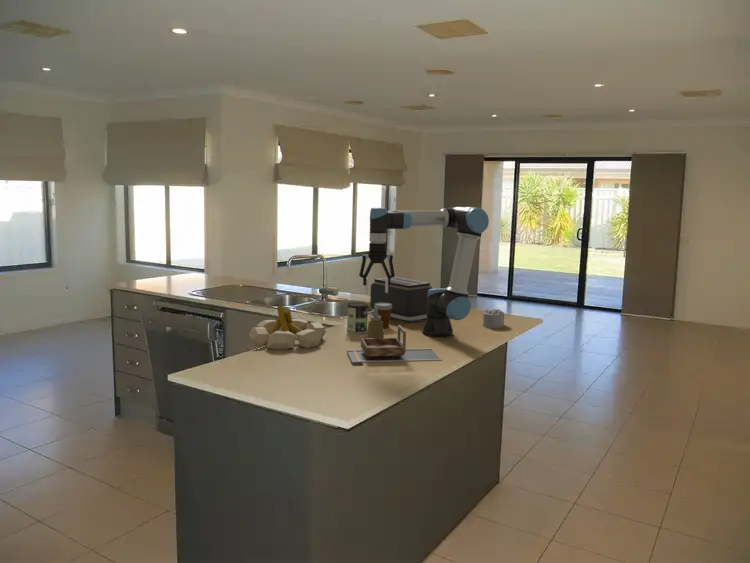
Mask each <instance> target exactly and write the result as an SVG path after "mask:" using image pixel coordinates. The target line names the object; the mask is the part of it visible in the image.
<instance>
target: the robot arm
mask: <svg viewBox="0 0 750 563" xmlns="http://www.w3.org/2000/svg"><path fill="white" fill-rule="evenodd" d="M369 211H370V212H369V245H368V247H369V248H368V253H367V254H362V255H361V258H362V261H361V263H360V264H361V265H360V270H359V274H358V275H359V277H360V278H362V284H363V286H365V287H364V290H365V291H364V292H365V294H368V293H369V278H368V277H369V276H368V275H369V274H370V271H371V269H372V267H373V265H374V264H380V265H381V266H382V268H383V270H384V273H385V275H386V277H384V278H385V292H386V293H388V285H390V279H391V278H392V277H396V275H395V270H394V263H393V259H394V258H393V255H392V254H387V243H386V242H387V230H405V229H406V230H407V229H410V228H411V227H441V228H443V229H453V230H456V234H457V236H458V241H457V246H456V251H455V255H454V260H453V266H452V269H451V274H450V279H449V284H448V286H447V287H444V288H439V287H438V288H436V287H435V288H432V289H429V290H428V294H427V318H426V320H424V323H423V324H424V325H423V327H422V334H423V335H425V336H429V337H435V338H442V337H443V338H446V337H451V336H452V335H454V334H453V333H454V330H453V326H452V323H451V320H454V321H461V320H463V319H465V318H466V317H467V316H468V315H469V313H470V311H471V309H472V303H471V302H470V300H469V294H470V293H469V291H468V285H469V279H470V276H471V275H470V274H471V270H472V266H473V260H474V257H475V256H474V255H475V252H476V247H477V242H478V240H479V239H481V238H482V235H483V234H482V233H484V232H485V231H486V230H487V229H488V227H489V220H490V219H489V215H488V214H487V212H486V211H485V210H484V209H483V208H480V207H476V206H462V205H461V206H454V207H443V208H441V209H440V210H439V209H437V210H433V209H430V210H388V209H387V207H371V209H370V210H369ZM368 258H369V263H368V265H367V268H366V269H365V267H366V264H367V263H366V262H367V259H368ZM386 259H387V260H388V265H389V270H390V272H389V270H388V268H387V265H386V262H385V260H386ZM364 271H365V272H364Z"/></svg>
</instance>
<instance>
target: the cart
mask: <svg viewBox="0 0 750 563" xmlns="http://www.w3.org/2000/svg"><path fill="white" fill-rule="evenodd" d="M401 333H402V334H403V335H402V342H401ZM406 342H407V332H406V330H405V328H403V327H402V325H401V324H398V325H397V337H384V338H367V337H365V338H363V337H362V338H360V348H361V350H363V351H364V353H365V355H366V356H368V357H369V359H370V360H373V359H374V358H375V356H394V357H395V358H396V359H400V356H404V353H405V350H406V349H407V348H406V346H407V345H406V344H407V343H406Z"/></svg>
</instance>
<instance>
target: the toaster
mask: <svg viewBox="0 0 750 563" xmlns="http://www.w3.org/2000/svg"><path fill="white" fill-rule="evenodd" d="M385 278H386V277H381V278H380V277H379V278H378V277H377V278H374V282H373V283H372V284H370V297H369V298H370V301H369V302H370V303H369V305H370V308H371V314H372V313H373V314H374V310H375V307H374V306H375V304H376V303H390V304H392V309H391V315H390V320H393V321H399V322H403V323H407V324H412V323H414V324H415V323H420V322H423V321H424V322H425V321H426V318H427V294H428V290H429V289H433V286H431V282H426V281H422V280H415V279H410V278H404V277H398V276H395V277H392V278H391V279H390V285H388V293H386V292H385ZM373 314H372V315H373Z"/></svg>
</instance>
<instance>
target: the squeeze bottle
mask: <svg viewBox="0 0 750 563" xmlns="http://www.w3.org/2000/svg"><path fill="white" fill-rule="evenodd" d="M380 320H381V316H379V315H378V310H377V308H375V310H374V314H372V315H371V316H370V320H369V321H368V322H367V332H366V338H385V334H384V328H383V322H382V321H380Z"/></svg>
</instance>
